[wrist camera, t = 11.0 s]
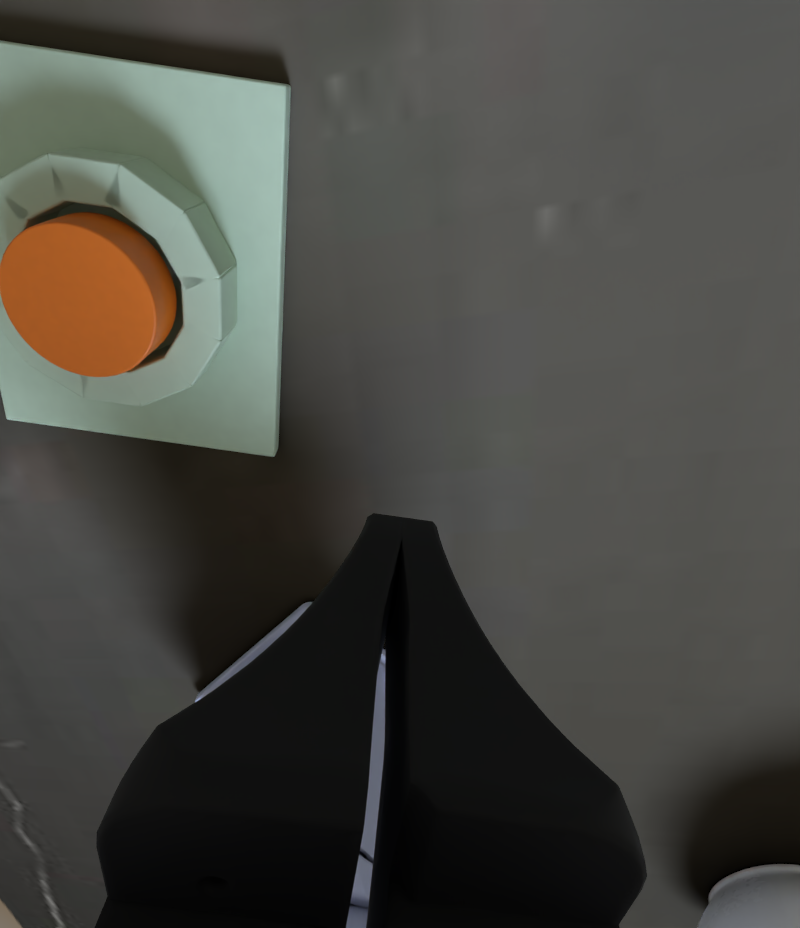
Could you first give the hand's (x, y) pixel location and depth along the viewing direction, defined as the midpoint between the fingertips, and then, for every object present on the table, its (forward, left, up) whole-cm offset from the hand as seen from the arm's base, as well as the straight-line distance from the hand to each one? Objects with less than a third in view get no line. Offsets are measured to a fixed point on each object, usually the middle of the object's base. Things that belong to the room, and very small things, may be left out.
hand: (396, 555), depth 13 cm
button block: (-4, +9, -10) cm, 14 cm away
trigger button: (-4, +9, -8) cm, 13 cm away
